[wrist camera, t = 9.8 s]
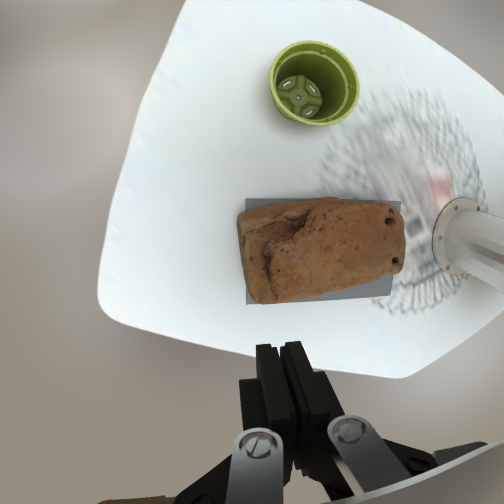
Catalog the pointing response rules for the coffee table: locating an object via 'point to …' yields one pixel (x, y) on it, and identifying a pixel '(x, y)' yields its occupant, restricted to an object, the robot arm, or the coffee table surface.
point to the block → (318, 247)
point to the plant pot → (314, 83)
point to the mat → (366, 290)
